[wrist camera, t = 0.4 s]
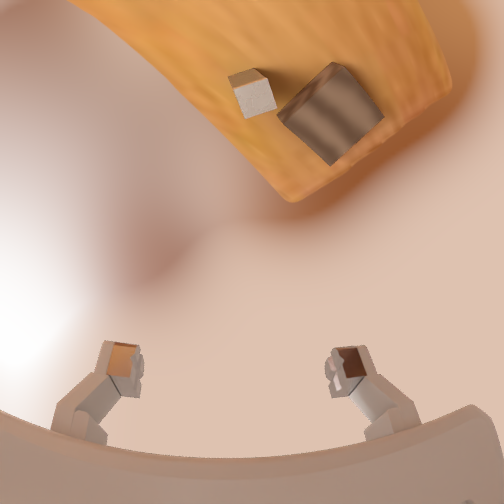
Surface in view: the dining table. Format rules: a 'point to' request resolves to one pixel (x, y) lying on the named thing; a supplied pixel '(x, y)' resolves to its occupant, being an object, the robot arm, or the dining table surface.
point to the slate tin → (252, 92)
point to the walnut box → (331, 113)
